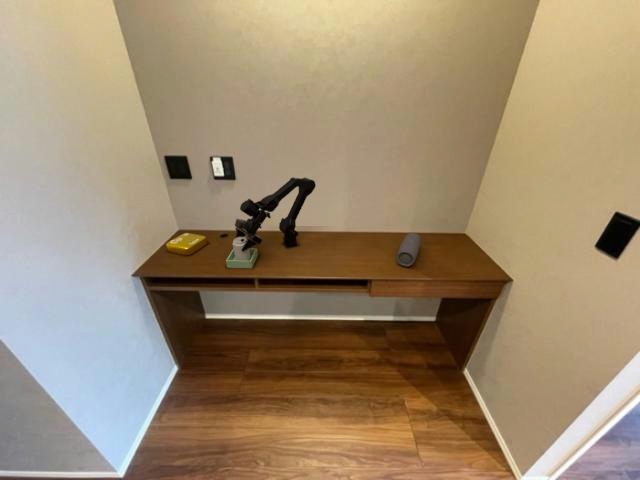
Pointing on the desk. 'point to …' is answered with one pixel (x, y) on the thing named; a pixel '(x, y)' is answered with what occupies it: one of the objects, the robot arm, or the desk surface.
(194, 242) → the element tile
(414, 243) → the bluetooth speaker
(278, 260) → the desk surface
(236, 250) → the can
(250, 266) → the tray
